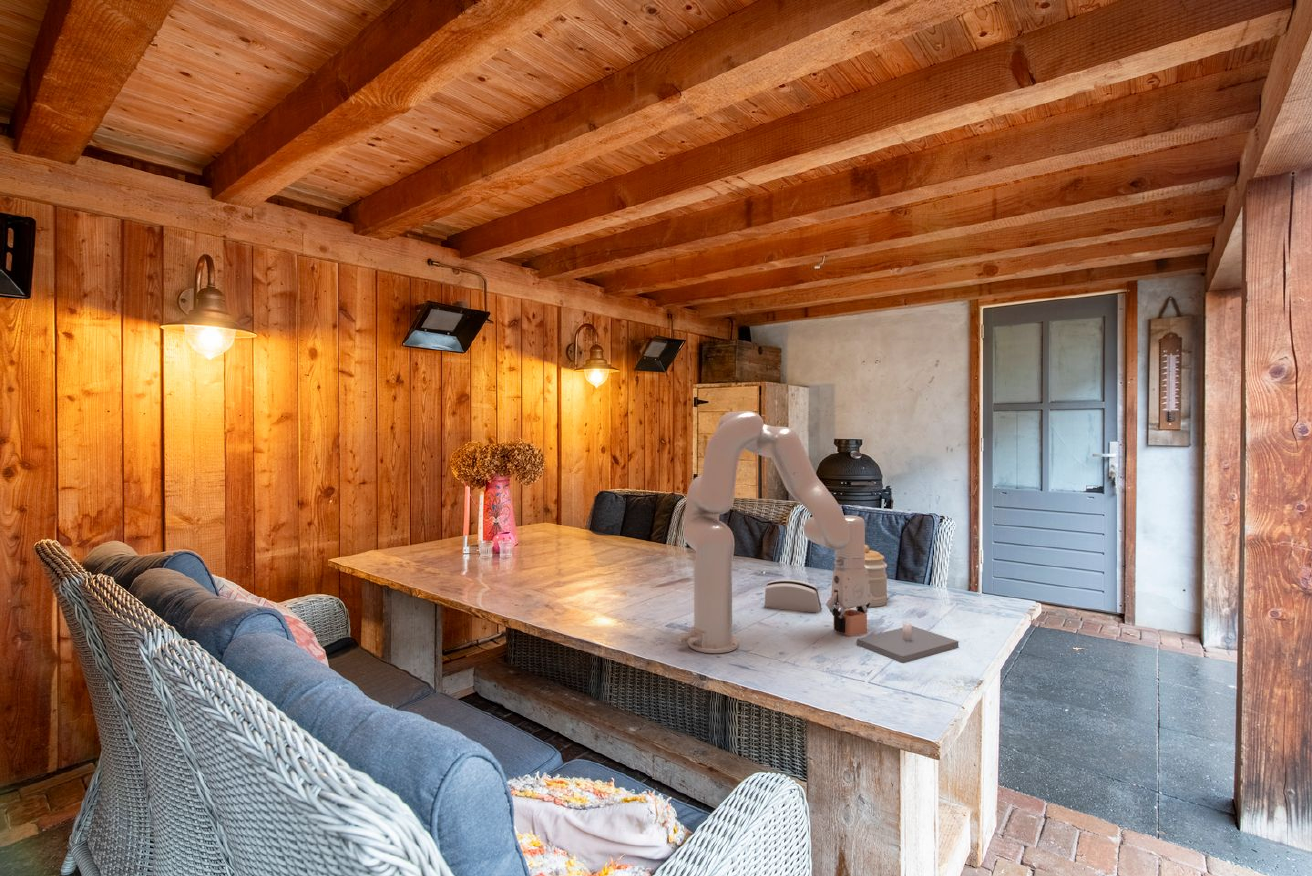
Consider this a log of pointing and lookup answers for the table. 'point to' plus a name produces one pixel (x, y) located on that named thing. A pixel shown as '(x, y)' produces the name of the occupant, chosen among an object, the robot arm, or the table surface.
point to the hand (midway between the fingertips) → (850, 628)
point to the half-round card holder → (792, 595)
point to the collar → (854, 622)
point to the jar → (876, 577)
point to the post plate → (907, 643)
